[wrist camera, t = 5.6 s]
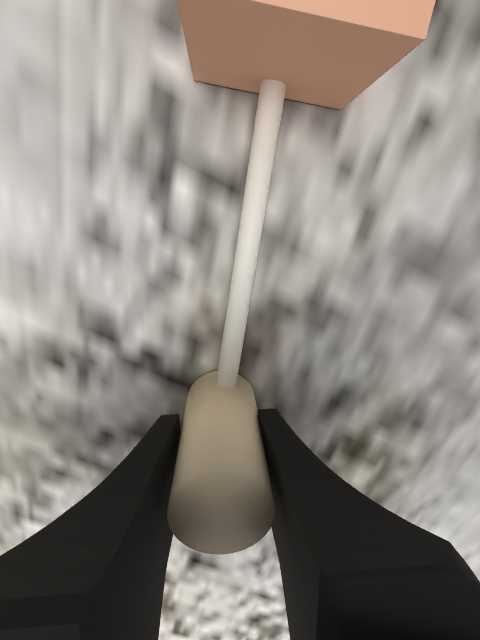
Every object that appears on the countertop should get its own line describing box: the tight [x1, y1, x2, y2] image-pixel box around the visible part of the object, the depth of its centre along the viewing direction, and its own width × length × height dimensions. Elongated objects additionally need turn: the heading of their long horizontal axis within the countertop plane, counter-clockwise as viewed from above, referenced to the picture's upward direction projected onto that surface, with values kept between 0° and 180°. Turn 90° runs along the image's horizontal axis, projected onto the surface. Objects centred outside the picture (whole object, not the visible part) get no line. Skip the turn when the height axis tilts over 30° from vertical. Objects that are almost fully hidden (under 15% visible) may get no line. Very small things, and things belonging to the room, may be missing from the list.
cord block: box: [167, 0, 436, 554], centre depth 9 cm, size 4×16×5 cm, turn 171°
